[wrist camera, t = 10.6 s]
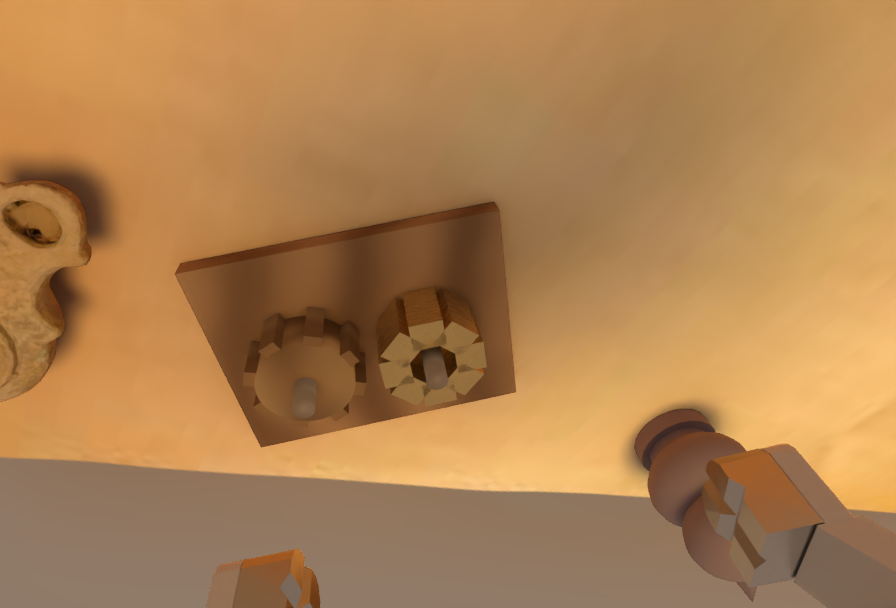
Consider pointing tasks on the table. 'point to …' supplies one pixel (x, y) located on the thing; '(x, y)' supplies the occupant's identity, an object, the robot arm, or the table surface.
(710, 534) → the turned wooden finial
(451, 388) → the brass gear
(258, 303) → the gear board
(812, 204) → the table surface
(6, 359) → the oil lamp
